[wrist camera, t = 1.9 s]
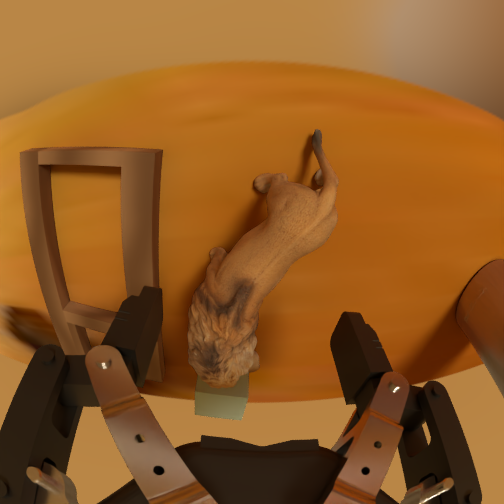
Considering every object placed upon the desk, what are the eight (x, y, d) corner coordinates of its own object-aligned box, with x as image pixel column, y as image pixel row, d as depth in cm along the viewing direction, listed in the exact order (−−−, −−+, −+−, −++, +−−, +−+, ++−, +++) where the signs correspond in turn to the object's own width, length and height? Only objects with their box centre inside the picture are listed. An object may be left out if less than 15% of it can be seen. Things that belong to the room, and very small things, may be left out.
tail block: (249, 342, 24) (248, 397, 19) (243, 369, 26) (241, 420, 21) (204, 336, 24) (194, 391, 19) (203, 363, 26) (194, 414, 20)
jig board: (162, 149, 16) (155, 153, 15) (165, 371, 26) (162, 382, 25) (31, 148, 15) (19, 152, 14) (70, 346, 26) (65, 355, 24)
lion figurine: (251, 314, 22) (249, 409, 15) (189, 290, 21) (162, 383, 13) (349, 148, 16) (425, 183, 8) (275, 108, 15) (298, 99, 7)
